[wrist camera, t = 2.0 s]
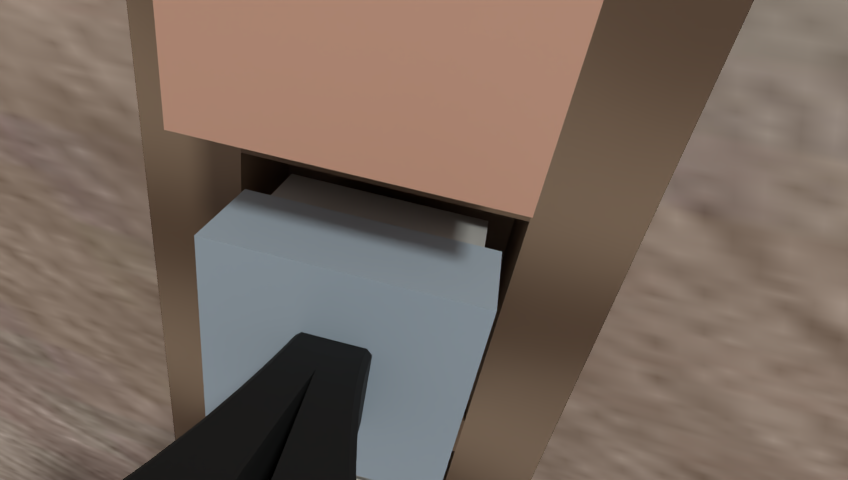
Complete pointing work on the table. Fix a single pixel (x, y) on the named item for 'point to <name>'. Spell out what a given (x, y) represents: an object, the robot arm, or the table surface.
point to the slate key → (353, 307)
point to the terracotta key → (382, 86)
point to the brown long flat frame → (482, 217)
